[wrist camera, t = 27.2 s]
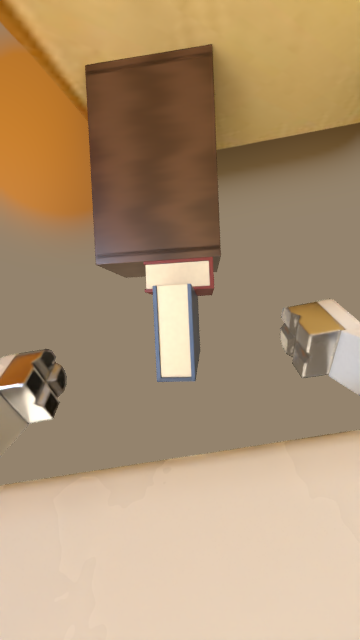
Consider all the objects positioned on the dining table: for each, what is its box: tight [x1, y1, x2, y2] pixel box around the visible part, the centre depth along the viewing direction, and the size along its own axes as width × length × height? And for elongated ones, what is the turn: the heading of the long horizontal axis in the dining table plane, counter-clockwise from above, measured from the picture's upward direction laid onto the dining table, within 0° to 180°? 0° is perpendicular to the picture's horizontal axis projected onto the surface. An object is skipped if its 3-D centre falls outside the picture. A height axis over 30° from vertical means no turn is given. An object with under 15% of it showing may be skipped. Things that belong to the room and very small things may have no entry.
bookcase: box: [85, 45, 221, 278], centre depth 37 cm, size 16×12×26 cm
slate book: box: [153, 284, 200, 382], centre depth 35 cm, size 4×20×10 cm, turn 6°
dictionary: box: [143, 257, 214, 296], centre depth 37 cm, size 9×12×4 cm
